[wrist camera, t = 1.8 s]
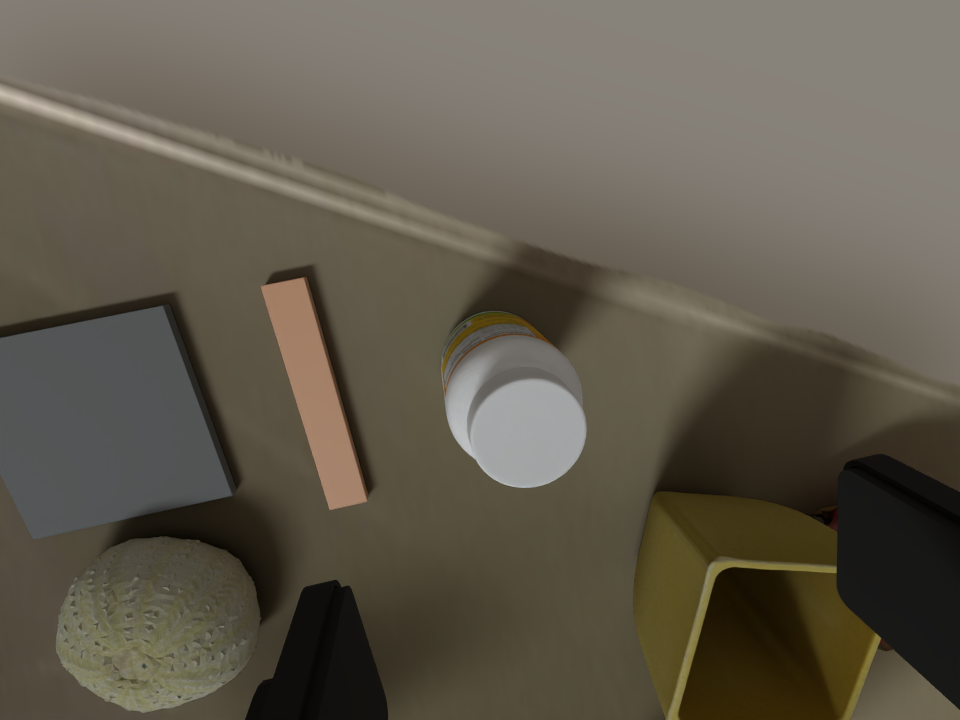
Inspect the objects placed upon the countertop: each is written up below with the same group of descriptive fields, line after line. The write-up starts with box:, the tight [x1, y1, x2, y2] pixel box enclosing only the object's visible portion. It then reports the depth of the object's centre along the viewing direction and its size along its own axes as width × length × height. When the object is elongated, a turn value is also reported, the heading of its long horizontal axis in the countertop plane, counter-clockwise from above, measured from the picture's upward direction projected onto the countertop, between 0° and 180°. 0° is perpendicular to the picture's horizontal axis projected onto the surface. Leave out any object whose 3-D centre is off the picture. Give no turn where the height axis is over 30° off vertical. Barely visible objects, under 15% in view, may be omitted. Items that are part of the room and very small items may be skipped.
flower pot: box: [633, 491, 881, 720], centre depth 26 cm, size 9×9×9 cm
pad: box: [0, 304, 237, 539], centre depth 24 cm, size 10×10×1 cm
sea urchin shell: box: [56, 536, 261, 713], centre depth 26 cm, size 9×8×8 cm
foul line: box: [261, 277, 368, 510], centre depth 25 cm, size 12×2×1 cm, turn 11°
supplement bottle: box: [441, 311, 587, 488], centre depth 21 cm, size 5×5×10 cm
